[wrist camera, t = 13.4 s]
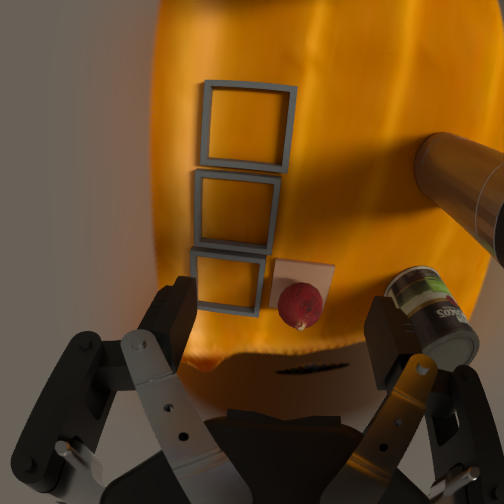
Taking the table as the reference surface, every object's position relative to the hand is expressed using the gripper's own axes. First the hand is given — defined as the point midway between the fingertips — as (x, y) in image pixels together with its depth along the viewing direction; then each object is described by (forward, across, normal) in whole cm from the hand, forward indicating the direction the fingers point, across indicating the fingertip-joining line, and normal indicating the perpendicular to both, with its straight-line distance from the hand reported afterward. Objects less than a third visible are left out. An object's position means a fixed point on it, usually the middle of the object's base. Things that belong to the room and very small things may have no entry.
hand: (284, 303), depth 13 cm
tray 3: (+24, +6, +16) cm, 30 cm away
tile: (+24, -4, +16) cm, 29 cm away
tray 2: (+24, +5, +6) cm, 25 cm away
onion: (+24, -4, +16) cm, 29 cm away
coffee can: (+24, -22, +16) cm, 36 cm away
